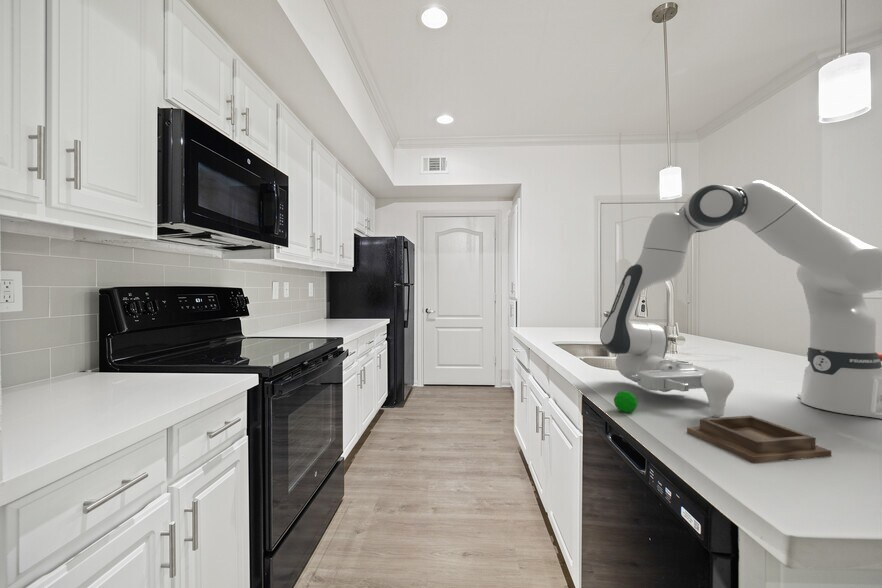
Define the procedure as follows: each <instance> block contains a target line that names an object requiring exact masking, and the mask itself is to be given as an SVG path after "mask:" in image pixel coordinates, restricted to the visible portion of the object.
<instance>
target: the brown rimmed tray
mask: <svg viewBox="0 0 882 588" xmlns="http://www.w3.org/2000/svg"><path fill="white" fill-rule="evenodd" d="M686 433H688V434H690V435H692V436H694V437H697V438H698V439H701V440H702V441H705V442H706V443H709V444H711V445H713V446H715V447H718V448H720V449H722V450H724V451H727V452H728V453H731V454H733V455H735V456H737V457H739V458H742V459H744V460H745V461H748V462H749V463H752V464H758V463H768V462H770V463H771V462H780V461H782V460H783V461H790V460H789V459H794V460H802V459H801V458H806V459H815V457H817V458H827V456H828V457H832V450H831V449H828V448H826V447H822V446H820V445H817V443H816V442H817V441H816V438H817V437H814V436H812V435H809V434H805V433H802V432H800V431H797V430H794V429H791V428H788V427H787V426H783V425H779V424H776V423H773V422H772V421H767V420H764V419H762V418H759V417H756V416H753V415H738V416H736V415H735V416H720V417H708V418H699V426H689V427H686Z"/></svg>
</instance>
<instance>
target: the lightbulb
mask: <svg viewBox="0 0 882 588" xmlns="http://www.w3.org/2000/svg"><path fill="white" fill-rule="evenodd" d="M701 384H702V387H703V388H702V389H703V390H704V392H705V393H706V396H707V400H708V405H709V413H710V415H712V416H713V418H720V417H724V414H725V407H726V406H727V405H726V403H727V400H728V397H729V395H730V394H731V393H732V391H733V390H734V387H735V381H734V379H733V377H732V376H731V375H730V374H729V373H728V372H727V371H725V370H723V369H719V368H711V369H709V370H708V371H706V372H705V373H704V374H703V375H702V377H701Z"/></svg>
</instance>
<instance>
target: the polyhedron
mask: <svg viewBox="0 0 882 588" xmlns="http://www.w3.org/2000/svg"><path fill="white" fill-rule="evenodd" d="M613 401H614V403H613V404H614V405H615V407H616V408H617V410H618V411H620V412H621V413H625V414H628V413H633V412H634V411H635V410H636V409H637V407H638V400H637V397H636V396H635V395H634V394H633V393H632V392H630V391H627V390H623V391H619V392H617V393H616V395H615V397H613Z"/></svg>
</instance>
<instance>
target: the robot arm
mask: <svg viewBox="0 0 882 588" xmlns="http://www.w3.org/2000/svg"><path fill="white" fill-rule="evenodd" d="M730 221H735V222H738V223H741V225H744V226H746V227H747V228H748V229H749V230H750V231H751V232H752V233H753V234H754V235H756V236H757V237H758V238H760V240H761V241H763V242H764V243H765V244H767V245H768V246H769V247H770V248H772V249H773V250H774V251H776V252H777V253H778V254H779V255H781V256H783V257H786V258H788V259H789V260H792V261H794V262H795V263H798V267H797V271H796V276H797V277H796V278H797V280H798V282H799V283H800V285H801V286H802V288H803V293H804V296H805V299H806V304H807V308H808V312H809V322H810V325H809V326H810V327H809V329H810V330H809V331H810V333H809V334H810V337H809V338H810V343H809V347H808V348H807V352H806V355H807V361H808V363H809V364H808V365H807V366H806V367H805V369H804V372H803V379H802V385H801V392H798V393H797V397H798V399H800V402H801V403H803V404H804V405H806V406H810V407H813V408H815V409H820V410H824V411H829V412H833V413H839V414H846V415H853V416H862V417H870V418H875V419H881V420H882V353H880V352H876V336H877V335H876V331H877V330H876V328H877V327H876V326H877V322H876V318H875V316H874V315H873V314H872V313H871V312H870V311H869V308H868V307H867V303H866V302H865V298H864V295H863V294H869V293H873V292H876V291H880V290H882V248H880V247H876V246H873V245H871V244H868V243H866V242H864V241H863V240H860V239H859V238H857V237H855V236H853V235H851V234H849V233H848V232H845V231H843V230H841V229H839V228H837V227H835V226H833V225H831V224H830V223H828V222H826V221H825V220H824V219H822V218H820V217H819V216H818V215H816V213H814V212H812V211H811V210H810V209H809V208H807V206H805V205H803V204H802V203H801V202H799V201H798V200H797V199H796V198H794V197H793V196H791V194H788V193H787V192H785V191H784V190H783V189H780V187H777V186H775V185H773V184H772V183H769V182H767V181H764V180H754V181H750V182H747V183H745V184H744V185H742V186H741V187H736V186H730V185H725V184H710V185H709V184H708V185H705V186H704V187H702V188H700V189H698V190H697V191H696V192H694V193H693V194H692V195H691V196H689V198H688V199H687V200H686V202H685V203H684V204H683V206H681V208H680V209H679V210H677V211H674V210H668V211H663V212H660V213H657V214H656V215H654V217H653V218H652V220H651V222H650V223H649V226H648V229H647V231H646V235H645V238H644V241H643V246H642V249H641V252H640V255H639V258H638V259H637V260H636V262H635V264H634V265H631V266H630V267H628V268H627V270H626V272H625V273H624V275H623V278H622V280H621V283H620V285H619V288H618V291H617V293H616V295H615V298H614V300H613V304H612V306H611V309H610V312H609V314H608V316H607V318H606V320H605V322H604V323H603V325H602V327H601V329H600V333H599V339H600V342H601V344H602V345H603V347H604V348H605V349H606V350H607V351H608V352H609V353H611V354H614V355H615V354H616V355H617V356H616V358H615V367H616V369H617V371H618V372H619V374H620V375H621V376H623V377H625V378H626V379H628V380H630V381H632V382H634V383H637V385H638V386H640V387H642V388H644V389H646V390H648V391H649V390H650V391H655V392H657V391H658V392H661V393H662V392H663V393H667V392H671V391H672V390H673V391H674V390H675V391H680V392H689V390H691V389H692V390H693V389H694V390H695V389H703V387H702V384H701V377H702V375H703V374H704V373H705V372H706V371H708V370H710V369H709V368H706V367H702V366H698V365H694V364H693V362H690V361H681V360H673V359H669V358H665V357H666V354H667V351H668V345H669V339H668V335H667V333H666V331H665V329H664V328H663V327H662V326H661V325H660V324H658V323H653V322H643V321H636V320H635V321H634V320H630V318H631V317H632V314H633V310H634V308H635V306H636V302H637V300H638V297H639V296H640V294H641V293H642V292H643V291H644V290H645V289H647V288H650V287H652V286H655V285H657V284H663V283H666V282H669V281H670V280H672V279H674V278H676V277H677V276H678V275H679V274H680V273H681V272H682V271H683V268H684V265H685V262H686V257H687V253H688V247H689V243H690V240H691V238H692V237H693V235H694V234H695V233H703V232H708V231H711V230H715V229H718V228H720V227H722V226H723V225H725V224H726V223H729V222H730Z"/></svg>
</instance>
